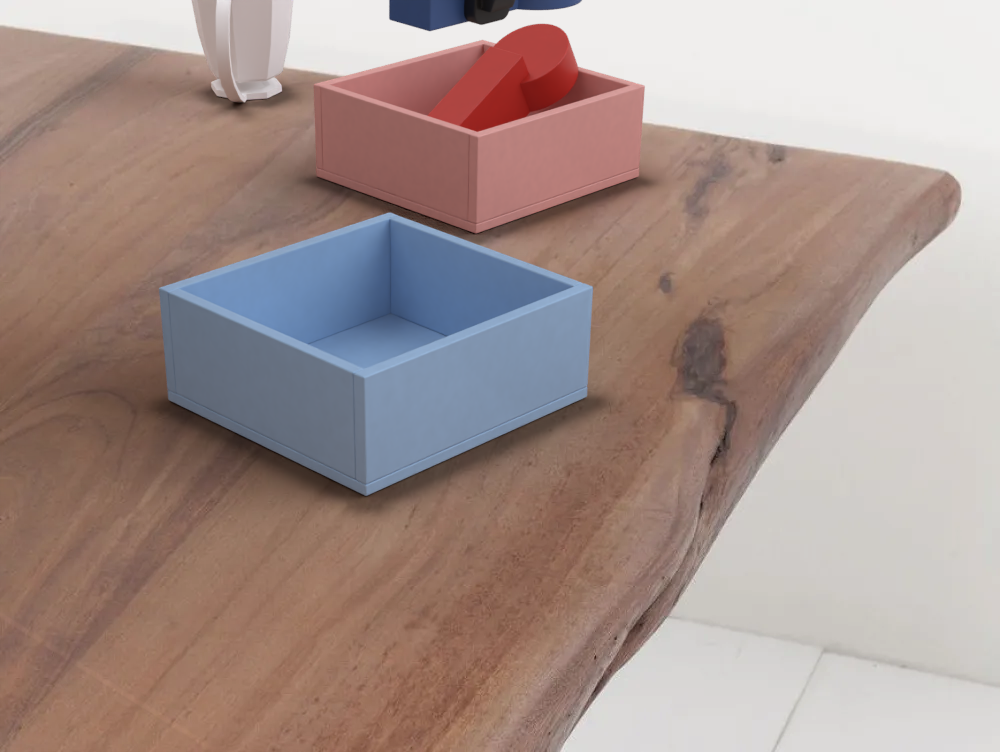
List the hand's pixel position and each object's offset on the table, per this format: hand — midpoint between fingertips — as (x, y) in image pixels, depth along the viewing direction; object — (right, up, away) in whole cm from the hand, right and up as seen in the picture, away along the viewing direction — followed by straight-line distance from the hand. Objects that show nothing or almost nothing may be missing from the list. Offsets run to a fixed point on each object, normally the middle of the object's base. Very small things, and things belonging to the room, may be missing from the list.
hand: (461, 11), depth 80 cm
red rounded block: (+2, +4, +24) cm, 24 cm away
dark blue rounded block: (+1, +1, +1) cm, 2 cm away
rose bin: (+1, +1, +24) cm, 24 cm away
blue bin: (-3, -16, 0) cm, 17 cm away
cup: (-14, +9, +35) cm, 39 cm away
